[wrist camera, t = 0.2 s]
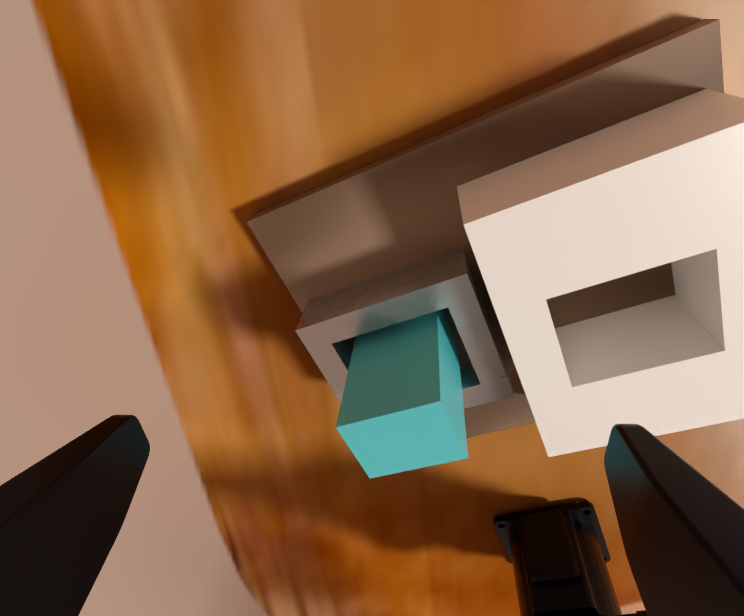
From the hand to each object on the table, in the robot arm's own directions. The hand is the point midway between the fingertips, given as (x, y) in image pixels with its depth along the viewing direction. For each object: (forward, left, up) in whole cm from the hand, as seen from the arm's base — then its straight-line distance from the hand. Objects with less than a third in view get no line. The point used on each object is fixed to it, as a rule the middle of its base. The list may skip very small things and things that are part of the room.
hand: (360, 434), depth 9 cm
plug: (-6, +2, -13) cm, 14 cm away
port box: (-6, -7, -13) cm, 16 cm away
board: (-6, -3, -14) cm, 15 cm away
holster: (-6, +2, -13) cm, 14 cm away
